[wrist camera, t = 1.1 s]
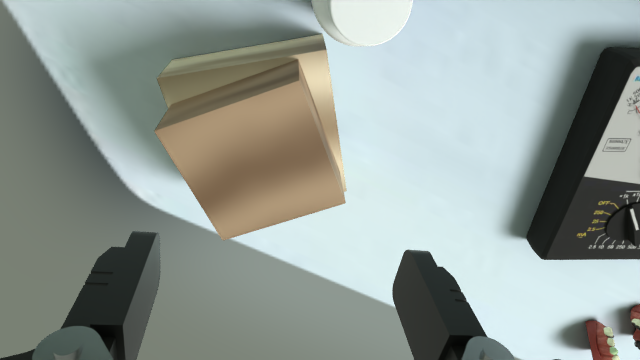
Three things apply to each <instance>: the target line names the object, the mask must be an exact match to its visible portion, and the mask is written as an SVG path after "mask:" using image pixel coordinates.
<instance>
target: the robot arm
mask: <svg viewBox="0 0 640 360" xmlns="http://www.w3.org/2000/svg"><path fill="white" fill-rule="evenodd" d="M159 280H160V236H159V233H155V232H140V231H133V232H132V233H131V235H130V237H129V239H128V242H127V244H126V246H125V248H124V247H111V248H110V249H108V250H107V251H106V252H105V253H103V254H102V255H101V256H100V257H99V258H98V259H97V261H96V263H95V265H94V267H93V269H92V270H91V274H89V276H88V278H87V280H86V282H85V285H84V286H83V288H82V290H81V291H80V293H79V295H78V297H77V299H76V301H75V303H74V305H73V307H72V308H71V310H70V312H69V315H68V316H67V318H66V320H65V322H64V324H63V326H62V327H61V329H60V330H58V331H55V332H53V333H52V334H50V335H49V336H47V337H46V338H44V339H43V340H42V341H41V342H40V343H39V344H38V346H37V347H36V349H33V350H31V351H28V352H25V353H21V354H18V355H13V356H9V357H5V358H1V359H0V360H136V359H137V356H138V352H139V349H140V346H141V343H142V339H143V336H144V333H145V330H146V326H147V323H148V320H149V317H150V313H151V310H152V307H153V304H154V300H155V297H156V294H157V290H158V286H159ZM393 301H394V304H395V307H396V309H397V312H398V315H399V318H400V320H401V323H402V326H403V329H404V332H405V335H406V337H407V340H408V343H409V346H410V349H411V352H412V354H413V357H414V360H515V359H514V357H513V355H512V354H511V353H510V351H509V350H508V349H507V348H506V347H504V346H503V345H502V344H501V343H499V342H497V341H496V340H493V339H491V338H488V337H487V336H486V334H485V332H484V330H483V328H482V327H481V325H480V323H479V321H478V319H477V318H476V316H475V314H474V312H473V311H472V309H471V307H470V305H469V303H468V302H466V298H465V296H464V294H463V293H462V292H461V289H460V287H459V285H458V284H457V282H456V280H455V278H454V277H453V276H452V275H451V274H450V273H449V272H448V271H446V270H445V269H444V268H443V267H437V265H436V263H435V261H434V259H433V257H432V255H431V253H430V252H428V251H418V250H406V251H405V252H404V254H403V257H402V260H401V263H400V266H399V268H398V271H397V274H396V277H395V280H394V283H393ZM554 360H559V359H554Z"/></svg>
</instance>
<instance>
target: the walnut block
mask: <svg viewBox="0 0 640 360" xmlns="http://www.w3.org/2000/svg"><path fill="white" fill-rule="evenodd" d="M154 132H155V133H156V135H157V136H158V138H159V140H160V141H161V143H162V144H163V146H164V148H165V149H166V151H167V152H168V154H169V156H170V157H171V159H172V160H173V162H174V164H175V165H176V167H177V168H178V170H179V172H180V173H181V175H182V176H183V178H184V180H185V181H186V183H187V184H188V186H189V187H190V189H191V191H192V192H193V194H194V195H195V197H196V199H197V200H198V202H199V203H200V205H201V207H202V208H203V210H204V211H205V213H206V215H207V216H208V218H209V219H210V221H211V223H212V224H213V226H214V227H215V229H216V231H217V232H218V234H219V235H220V237H221V238H222V240H226V239H229V238H233V237H236V236H239V235H243V234H246V233H249V232H252V231H256V230H259V229H262V228H266V227H269V226H272V225H275V224H279V223H282V222H285V221H289V220H292V219H295V218H298V217H302V216H305V215H308V214H312V213H315V212H318V211H321V210H325V209H328V208H331V207H335V206H338V205H341V204H344V203H346V202H345V197H344V191H343V186H342V180H341V175H340V171H339V168H338V165H337V162H336V160H335V157H334V154H333V152H332V149H331V146H330V143H329V141H328V138H327V135H326V133H325V130H324V127H323V125H322V122H321V119H320V116H319V114H318V111H317V108H316V106H315V103H314V100H313V97H312V95H311V92H310V89H309V87H308V84H307V81H306V78H305V76H304V73H303V70H302V68H301V65H300V62H299V59H297V60H294V61H292V62H289V63H286V64H283V65H280V66H278V67H275V68H272V69H269V70H266V71H264V72H261V73H258V74H255V75H252V76H250V77H247V78H244V79H241V80H238V81H235V82H233V83H230V84H227V85H224V86H221V87H219V88H216V89H213V90H210V91H207V92H205V93H202V94H199V95H196V96H193V97H191V98H188V99H185V100H182V101H179V102H177V103H174V104H171V105H170V107H169V109H168V110H167V112H166V113H165V115H164V116H163V118H162V120H161V121H160V123H159V124H158V126H157V128H156V129H155V131H154Z"/></svg>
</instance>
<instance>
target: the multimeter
mask: <svg viewBox="0 0 640 360" xmlns="http://www.w3.org/2000/svg"><path fill="white" fill-rule="evenodd" d="M527 240H528V242H529V244H530V246H531V247H532V249H533V250H534V251H535V253H536V254H537V255H538V256H539V257H540V258H541V259H544V260H586V259H640V48H618V47H609V48H606V49H604V50H603V52H602V53H601V55H600V57H599V60H598V62H597V64H596V67H595V69H594V72H593V74H592V77H591V79H590V82H589V84H588V87H587V89H586V91H585V94H584V96H583V99H582V101H581V104H580V106H579V109H578V111H577V113H576V116H575V118H574V121H573V123H572V126H571V128H570V131H569V133H568V135H567V138H566V140H565V143H564V145H563V148H562V150H561V153H560V155H559V157H558V160H557V162H556V165H555V167H554V170H553V172H552V175H551V177H550V180H549V182H548V184H547V187H546V189H545V192H544V194H543V197H542V199H541V202H540V204H539V206H538V209H537V211H536V214H535V216H534V219H533V221H532V224H531V226H530V229H529V231H528V233H527Z"/></svg>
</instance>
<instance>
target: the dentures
mask: <svg viewBox="0 0 640 360" xmlns="http://www.w3.org/2000/svg"><path fill="white" fill-rule="evenodd" d="M630 319H631V320H632V321H631V322H632V325H633V326H634V327H636V331H635V332H634V335H633V339H634V340H635V343H634V344H635V346H636V347H638V349H640V304H639V305H636V306H635V307H633V308H632V310H631V316H630ZM585 323H586V328H587V333H588V338H589V342H590V347H591V352H592V357H593V360H620V359H619V357H618V355H617V353H618V350H617V349H616V348H615V347H614V346H615V345H614V344H615V343H614V340H613V339H612V338H613V337H614V336H613V332H612V328H610V327H605V326H604V325H603V324H601V323H599V322H597V321H586V322H585Z"/></svg>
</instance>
